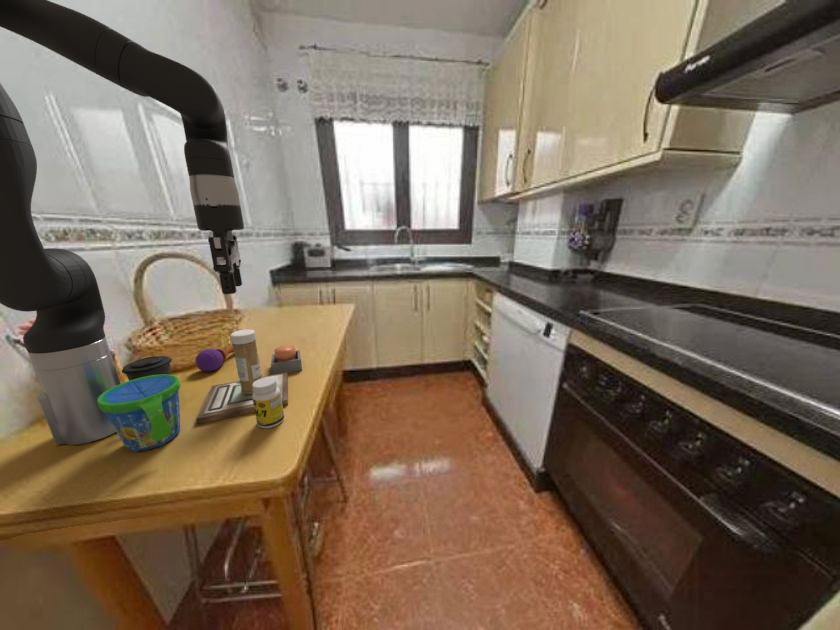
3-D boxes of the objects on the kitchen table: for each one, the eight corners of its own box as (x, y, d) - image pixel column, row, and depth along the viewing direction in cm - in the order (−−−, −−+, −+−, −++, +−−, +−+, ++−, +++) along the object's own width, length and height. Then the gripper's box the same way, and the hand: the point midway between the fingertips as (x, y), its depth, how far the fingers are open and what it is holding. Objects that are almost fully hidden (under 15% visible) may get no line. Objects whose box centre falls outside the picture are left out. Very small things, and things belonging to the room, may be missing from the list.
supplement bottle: (251, 425, 59) (243, 384, 57) (273, 412, 63) (266, 374, 61) (268, 432, 57) (261, 390, 55) (290, 418, 61) (283, 378, 59)
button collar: (272, 375, 79) (270, 364, 78) (273, 364, 85) (272, 354, 84) (302, 370, 81) (300, 359, 81) (301, 360, 88) (299, 350, 87)
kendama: (258, 334, 98) (212, 355, 79) (257, 352, 100) (211, 377, 80) (240, 331, 99) (189, 351, 79) (239, 349, 100) (189, 372, 80)
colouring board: (197, 424, 60) (195, 414, 59) (213, 390, 72) (211, 382, 72) (288, 404, 66) (286, 396, 65) (287, 376, 78) (286, 369, 77)
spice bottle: (267, 390, 69) (257, 332, 65) (244, 397, 66) (233, 337, 62) (260, 382, 72) (251, 327, 68) (238, 389, 69) (227, 332, 65)
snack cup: (201, 443, 54) (187, 391, 51) (118, 478, 47) (97, 419, 44) (182, 410, 65) (170, 364, 62) (112, 434, 57) (95, 384, 55)
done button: (276, 367, 80) (274, 353, 79) (276, 360, 84) (274, 347, 83) (297, 364, 82) (295, 350, 81) (296, 357, 86) (294, 344, 85)
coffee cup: (154, 415, 63) (141, 369, 60) (123, 411, 65) (108, 367, 62) (190, 394, 71) (180, 353, 68) (161, 391, 72) (150, 351, 70)
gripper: (202, 206, 63) (218, 285, 68) (181, 200, 51) (202, 298, 55) (244, 206, 66) (257, 282, 70) (234, 201, 53) (250, 294, 58)
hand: (233, 289), depth 63 cm, fingers open, 8 cm apart
